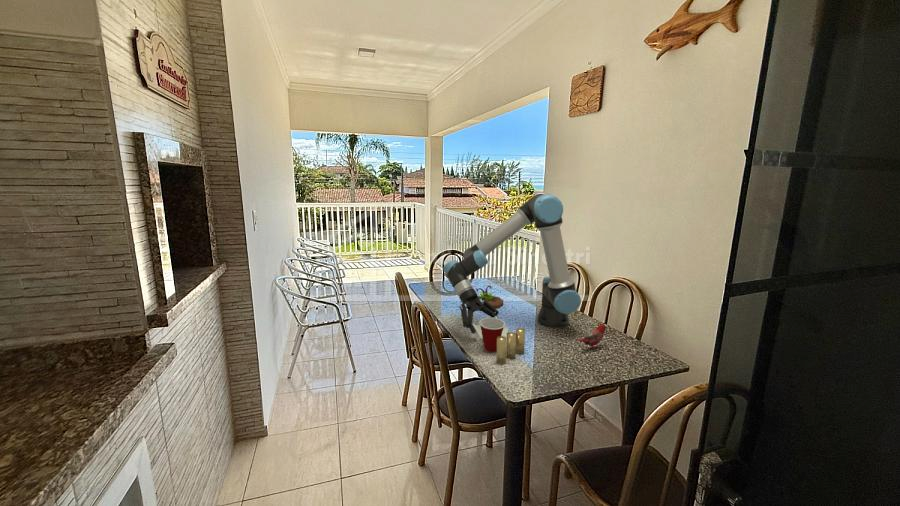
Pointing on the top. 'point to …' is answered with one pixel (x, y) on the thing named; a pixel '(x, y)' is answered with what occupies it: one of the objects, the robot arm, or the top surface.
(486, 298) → the plant
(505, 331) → the mat
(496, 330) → the plastic cup
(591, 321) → the top surface
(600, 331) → the decorative bird figurine
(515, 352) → the spacer posts
